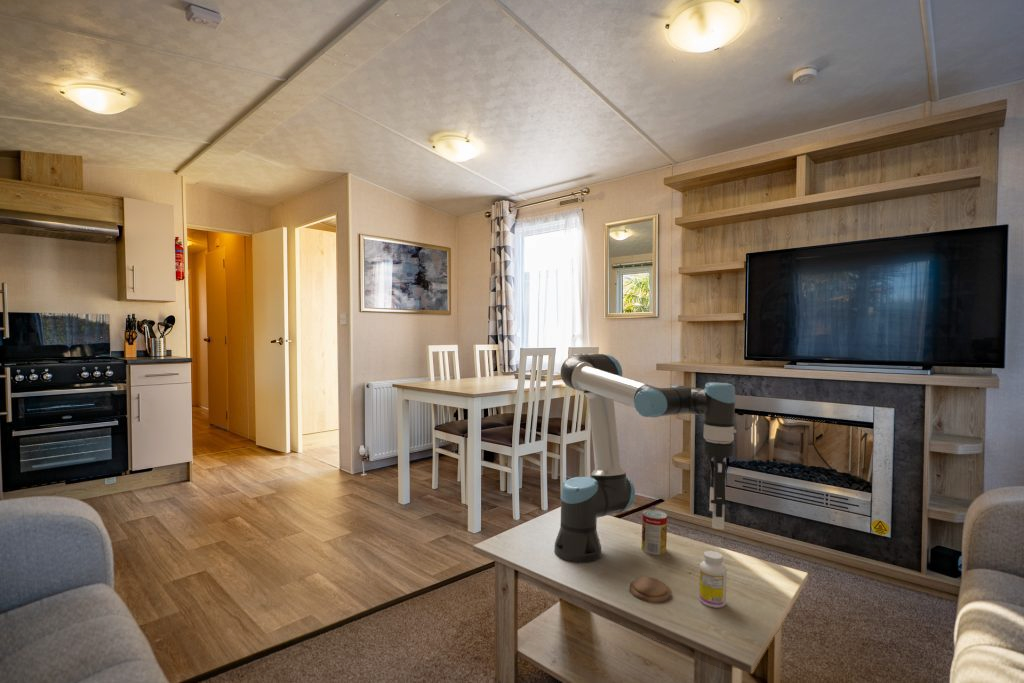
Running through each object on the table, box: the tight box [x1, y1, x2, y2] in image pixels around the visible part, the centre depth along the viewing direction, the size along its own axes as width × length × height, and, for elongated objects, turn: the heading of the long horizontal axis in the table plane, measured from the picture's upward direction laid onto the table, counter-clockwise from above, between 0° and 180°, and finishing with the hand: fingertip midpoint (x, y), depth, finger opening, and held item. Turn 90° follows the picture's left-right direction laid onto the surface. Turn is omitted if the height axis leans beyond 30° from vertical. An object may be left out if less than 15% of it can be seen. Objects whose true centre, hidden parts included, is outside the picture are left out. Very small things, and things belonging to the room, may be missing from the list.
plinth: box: [629, 576, 672, 604], centre depth 138 cm, size 11×11×2 cm
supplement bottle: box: [698, 550, 728, 609], centre depth 134 cm, size 7×7×13 cm
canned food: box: [641, 509, 668, 556], centre depth 166 cm, size 8×8×12 cm
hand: (716, 519), depth 134 cm, fingers open, 13 cm apart
